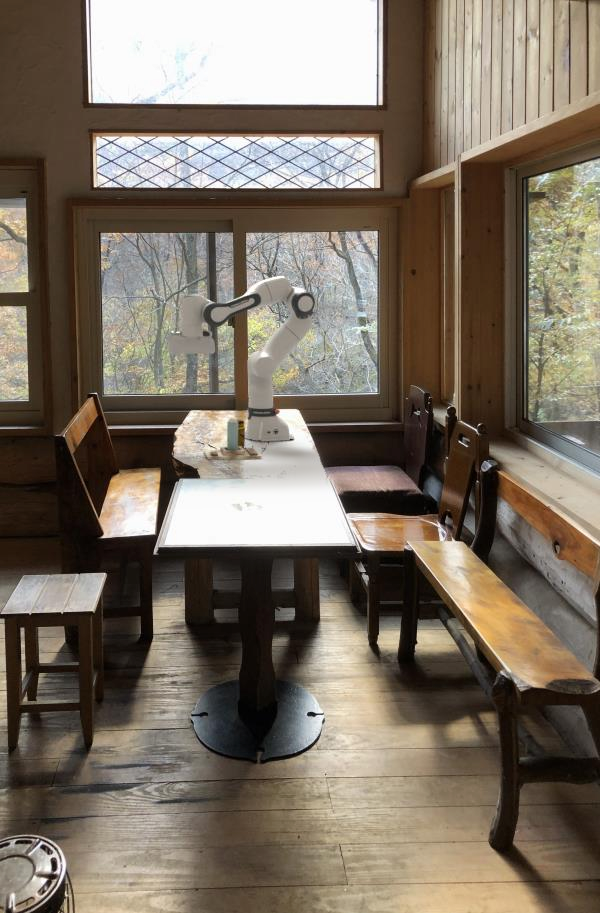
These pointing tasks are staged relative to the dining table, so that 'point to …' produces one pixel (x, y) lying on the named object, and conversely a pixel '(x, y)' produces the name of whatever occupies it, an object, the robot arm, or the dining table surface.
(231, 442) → the roll-on deodorant
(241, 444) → the condiment
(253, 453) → the jig
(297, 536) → the dining table surface
